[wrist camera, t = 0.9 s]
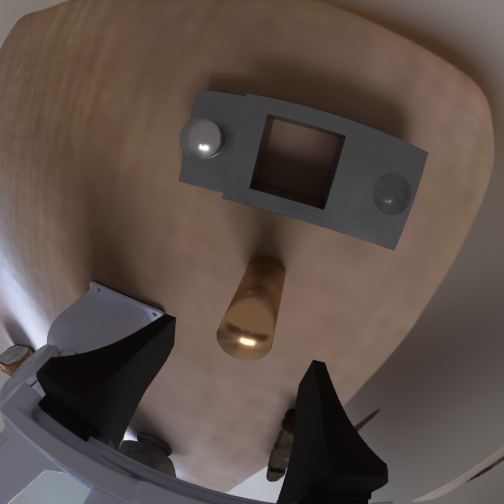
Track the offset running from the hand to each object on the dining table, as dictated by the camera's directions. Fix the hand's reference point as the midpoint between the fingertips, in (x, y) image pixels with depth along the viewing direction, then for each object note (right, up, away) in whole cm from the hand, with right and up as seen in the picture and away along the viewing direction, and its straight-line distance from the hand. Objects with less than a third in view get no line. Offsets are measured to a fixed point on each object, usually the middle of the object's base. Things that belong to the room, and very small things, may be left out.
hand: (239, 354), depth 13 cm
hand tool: (+6, -21, +18) cm, 29 cm away
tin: (-48, -16, +27) cm, 58 cm away
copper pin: (+2, +3, +8) cm, 9 cm away
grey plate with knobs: (+4, +11, +5) cm, 13 cm away
